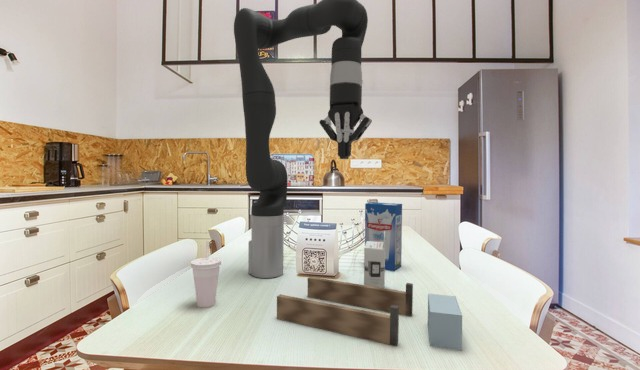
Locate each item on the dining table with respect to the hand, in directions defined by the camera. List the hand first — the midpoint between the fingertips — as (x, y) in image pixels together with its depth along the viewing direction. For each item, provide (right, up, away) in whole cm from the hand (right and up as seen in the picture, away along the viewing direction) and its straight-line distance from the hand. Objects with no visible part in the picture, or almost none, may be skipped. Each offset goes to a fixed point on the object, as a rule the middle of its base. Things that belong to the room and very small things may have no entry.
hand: (344, 158), depth 79 cm
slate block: (+16, -34, -19) cm, 42 cm away
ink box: (+8, -33, +4) cm, 34 cm away
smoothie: (-31, -33, -5) cm, 45 cm away
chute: (-1, -33, -11) cm, 35 cm away
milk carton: (+14, -32, +26) cm, 44 cm away
